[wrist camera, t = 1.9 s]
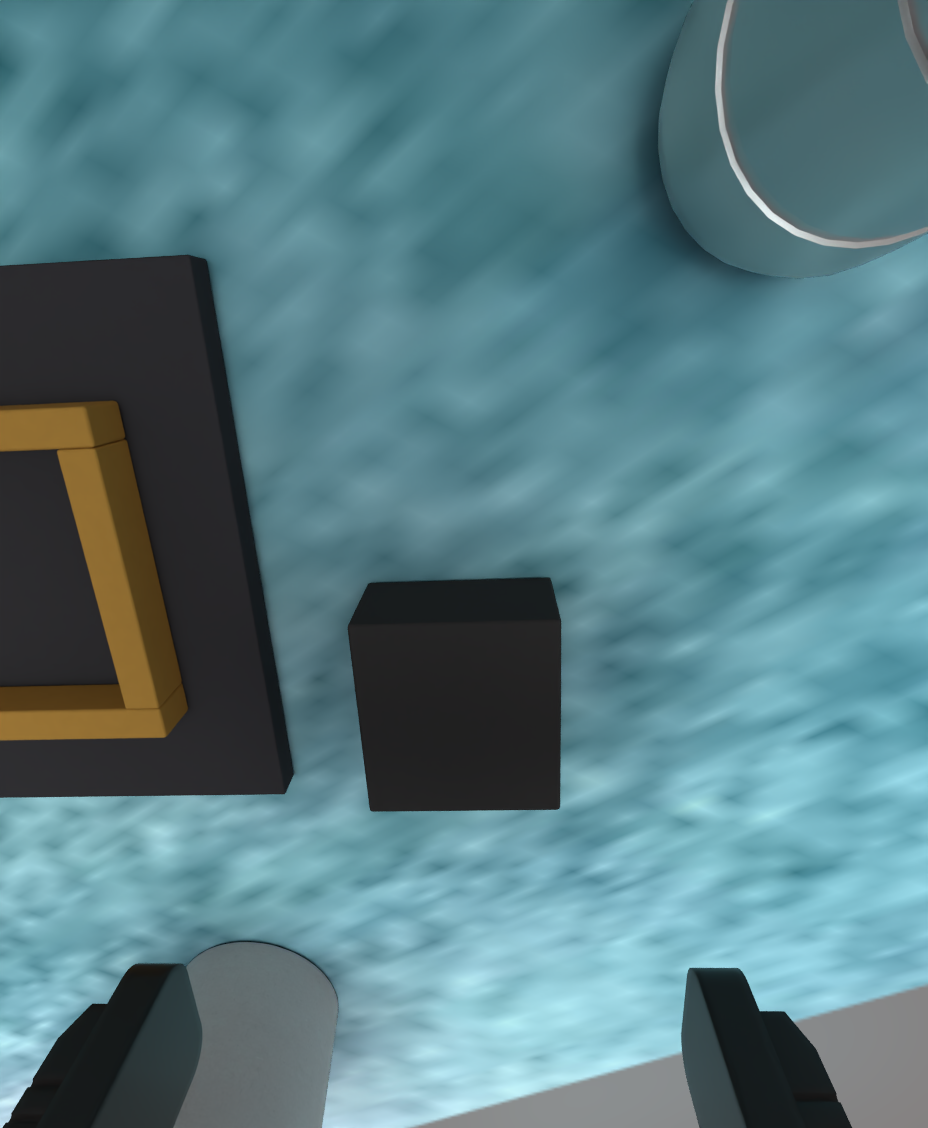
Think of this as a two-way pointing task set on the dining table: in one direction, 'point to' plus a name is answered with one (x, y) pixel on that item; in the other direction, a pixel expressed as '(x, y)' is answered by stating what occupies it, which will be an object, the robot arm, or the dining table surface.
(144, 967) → the robot arm
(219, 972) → the coffee cup
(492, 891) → the dining table surface
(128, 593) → the base pad
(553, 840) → the dining table surface
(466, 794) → the black block
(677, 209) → the plastic bottle
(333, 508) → the dining table surface
